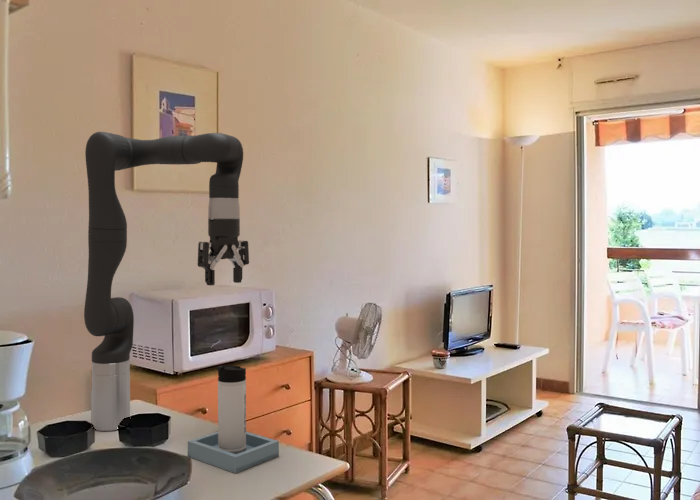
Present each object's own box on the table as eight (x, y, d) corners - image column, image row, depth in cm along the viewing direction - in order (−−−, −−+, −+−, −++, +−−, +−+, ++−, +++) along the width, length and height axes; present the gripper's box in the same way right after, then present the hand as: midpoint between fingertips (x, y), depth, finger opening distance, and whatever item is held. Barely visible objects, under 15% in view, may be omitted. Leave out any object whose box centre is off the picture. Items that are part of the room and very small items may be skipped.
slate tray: (187, 456, 148) (187, 441, 148) (231, 441, 158) (231, 427, 158) (235, 473, 138) (235, 457, 138) (278, 456, 148) (278, 441, 148)
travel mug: (211, 452, 148) (211, 364, 147) (236, 445, 152) (236, 360, 152) (226, 459, 143) (226, 369, 142) (251, 452, 148) (251, 365, 147)
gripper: (235, 217, 166) (235, 281, 167) (190, 216, 155) (190, 285, 155) (256, 217, 161) (256, 282, 162) (211, 217, 150) (211, 287, 151)
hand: (224, 283), depth 159 cm, fingers open, 8 cm apart
